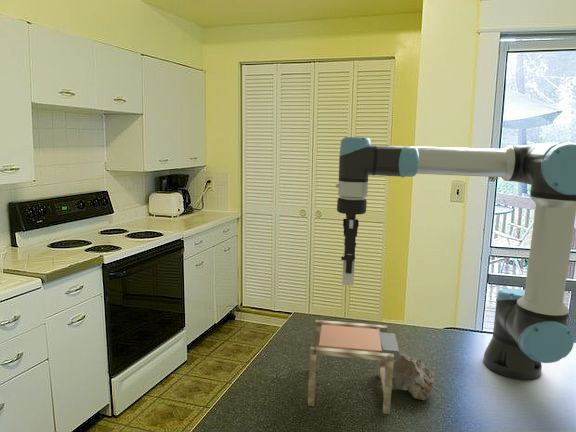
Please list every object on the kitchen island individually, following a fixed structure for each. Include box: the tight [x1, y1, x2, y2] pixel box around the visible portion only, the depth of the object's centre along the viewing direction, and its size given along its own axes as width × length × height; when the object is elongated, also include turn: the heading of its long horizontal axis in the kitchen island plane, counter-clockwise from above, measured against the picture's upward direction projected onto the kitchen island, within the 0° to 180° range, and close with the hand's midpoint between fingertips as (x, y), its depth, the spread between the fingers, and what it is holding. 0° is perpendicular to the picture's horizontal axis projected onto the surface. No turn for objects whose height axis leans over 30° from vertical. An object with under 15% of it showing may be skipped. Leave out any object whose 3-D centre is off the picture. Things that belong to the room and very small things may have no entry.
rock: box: [392, 353, 435, 401], centre depth 113 cm, size 9×12×10 cm
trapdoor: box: [319, 325, 400, 361], centre depth 112 cm, size 19×14×3 cm
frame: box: [307, 319, 395, 415], centre depth 114 cm, size 20×18×15 cm
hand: (347, 276), depth 118 cm, fingers open, 13 cm apart
